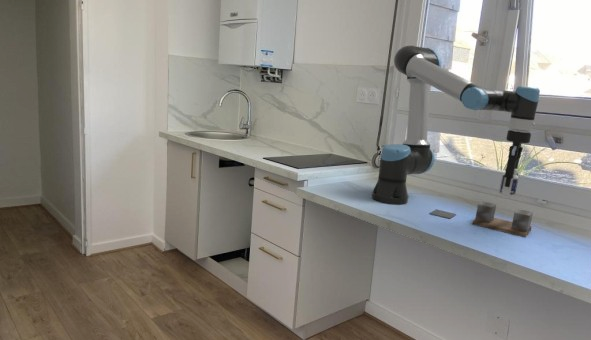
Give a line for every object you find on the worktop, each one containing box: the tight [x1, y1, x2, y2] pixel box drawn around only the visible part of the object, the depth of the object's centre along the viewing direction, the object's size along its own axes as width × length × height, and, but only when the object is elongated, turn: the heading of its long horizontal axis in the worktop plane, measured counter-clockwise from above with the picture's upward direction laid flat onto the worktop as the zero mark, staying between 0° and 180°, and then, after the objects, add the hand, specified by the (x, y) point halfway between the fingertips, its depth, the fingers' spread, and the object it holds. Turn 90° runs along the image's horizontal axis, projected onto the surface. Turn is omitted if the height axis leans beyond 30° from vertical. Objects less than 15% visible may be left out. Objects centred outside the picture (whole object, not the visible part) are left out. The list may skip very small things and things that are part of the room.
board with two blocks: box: [472, 200, 534, 238], centre depth 161 cm, size 18×12×7 cm, turn 54°
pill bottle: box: [498, 168, 520, 197], centre depth 159 cm, size 5×5×10 cm
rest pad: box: [429, 208, 457, 220], centre depth 171 cm, size 8×8×1 cm
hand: (506, 193), depth 160 cm, fingers closed on pill bottle, 5 cm apart
